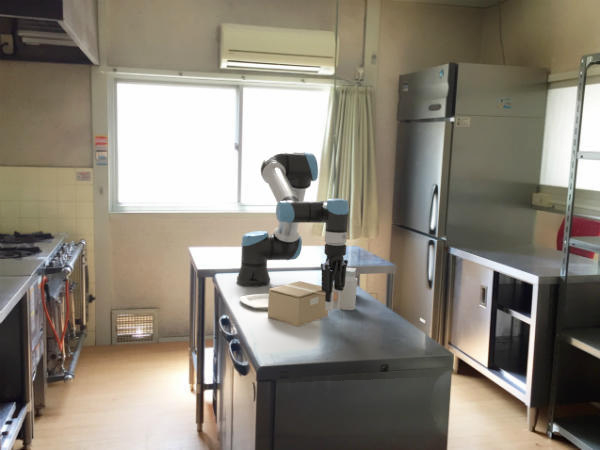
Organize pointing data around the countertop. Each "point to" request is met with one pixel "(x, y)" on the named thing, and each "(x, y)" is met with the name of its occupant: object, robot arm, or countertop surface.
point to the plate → (256, 301)
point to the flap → (301, 290)
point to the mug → (348, 294)
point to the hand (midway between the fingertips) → (332, 309)
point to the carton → (296, 308)
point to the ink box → (350, 272)
